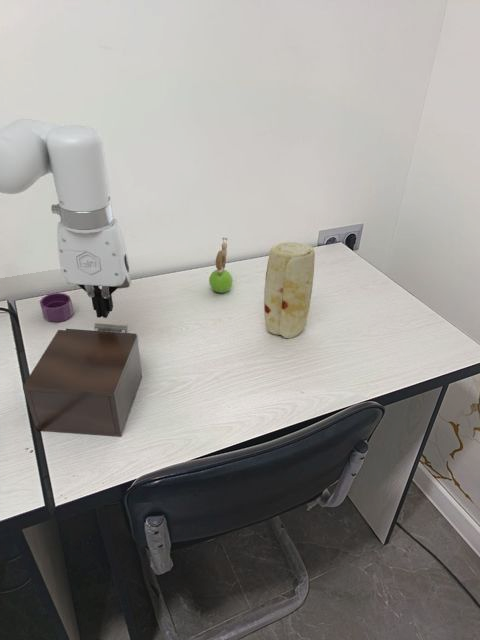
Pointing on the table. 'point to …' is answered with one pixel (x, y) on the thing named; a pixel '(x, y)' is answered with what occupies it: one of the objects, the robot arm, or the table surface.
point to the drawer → (108, 329)
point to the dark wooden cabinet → (85, 383)
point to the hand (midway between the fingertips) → (104, 313)
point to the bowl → (56, 307)
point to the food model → (288, 288)
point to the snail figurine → (221, 272)
